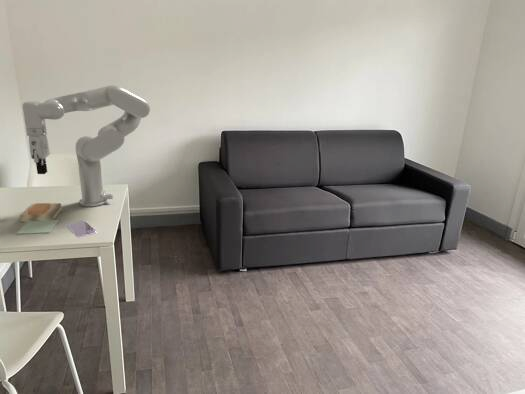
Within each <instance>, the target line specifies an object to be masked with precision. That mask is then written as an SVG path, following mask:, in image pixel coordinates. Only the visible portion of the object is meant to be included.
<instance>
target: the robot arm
mask: <svg viewBox="0 0 525 394" xmlns="http://www.w3.org/2000/svg"><path fill="white" fill-rule="evenodd" d="M110 106H115V107H116V108H119V109H121V111H124V113H123V114H122V115H121V116H120V117H118V118H117V119H116V120H114V121H112V122H110V123H108V124H106V125H104V126H102V127H101V128H100V129H99V130H98V132H97V136H95V137H91V136H87V135H86V136H82V137H80V138H78V139H77V141H76V143H75V147H74V148H75V154H76V160H77V165H78V174H79V183H80V191H81V192H80V193H81V198H80V199H79V200H78V204H79V206H82V207H87V208H89V207H99V206H103V205H104V204H106V203H108V200H113V199H114V195H112V193H108V194H107V193H106V192H105V190H104V188H103V187H104V185H103V175H102V166H101V160H102V159H104V158H106V157H107V156H108V155H111V154H112V153H114V152H116V151H117V150H119V149H120V148H121V147H122V146H123V144H124V142H125V138H126V137H127V136H128V135H130V134H132V133H133V132H134V131H136V129H137V128H138V127H139V125H140V123H141V120H142V119H144V118H146V117H147V116H149V114H150V112H151V106H150V105H149V103H148V102H147V101H146V100H145V99H143V98H141V97H139V96H137V95H135V94H133V93H132V92H130V91H129V90H126V89H125V88H123V87H121V86H119V85H115V84H114V85H113V84H111V85H105V86H102V87H98V88H94V89H90V90H85V91H80V92H76V93H72V94H71V93H70V94H66V95H61V96H58V97H54V98H50V99H47V100H45V101H44V102H40V101H25V102H23V103H22V112H23V121H24V126H25V133H26V136H27V137H28V145H29V153H30V158H31V159H33V162H34V163H35V166H36V172H37V174H38V175H45V174H46V173H48V166H47V159H46V158H47V157H49V156H50V155H51V154H50V153H51V151H50V146H49V141H48V137H47V135H48V133H47V126H46V120H55V121H56V120H60V119H62V118H63V117H64V115H65V114H67V113H72V112H91V111H95V110H98V109H102V108H107V107H110Z"/></svg>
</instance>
